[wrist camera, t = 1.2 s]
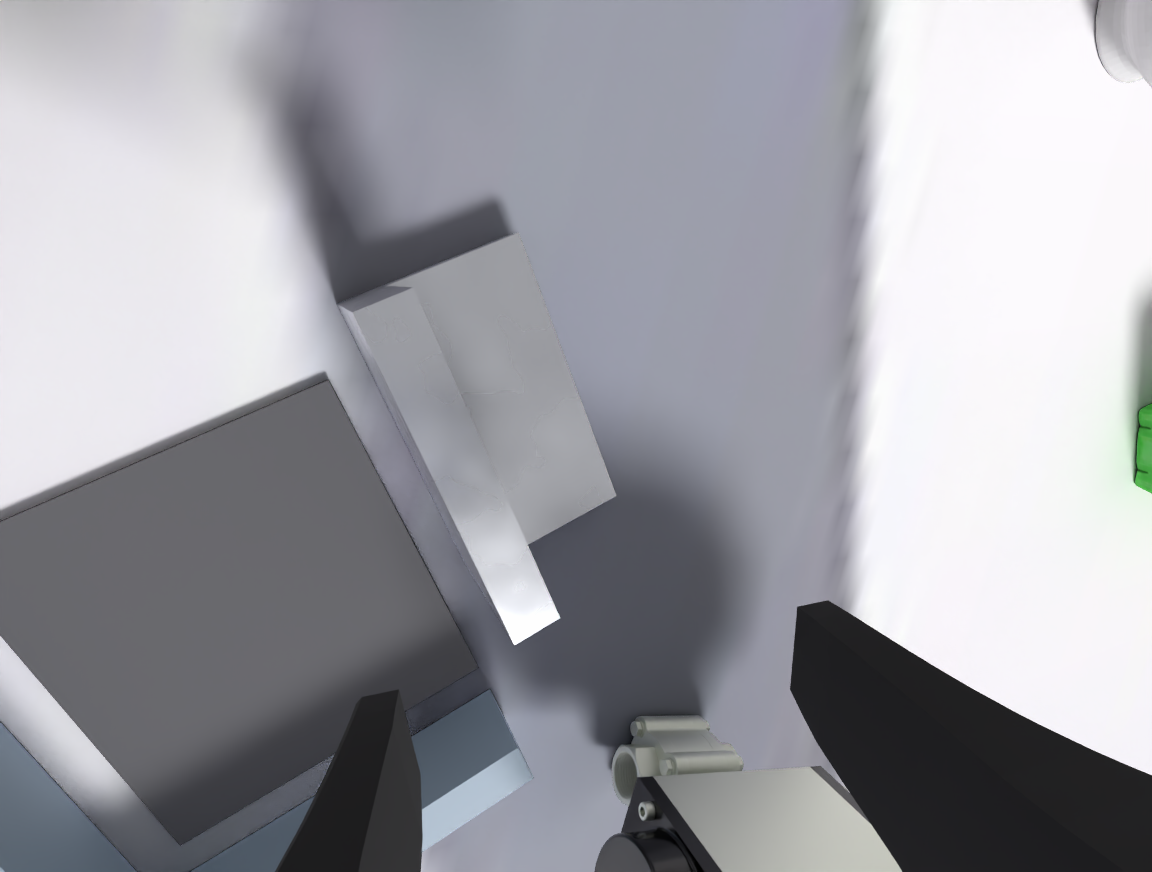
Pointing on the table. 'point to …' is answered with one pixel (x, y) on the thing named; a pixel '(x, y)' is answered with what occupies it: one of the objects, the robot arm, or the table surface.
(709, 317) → the table surface
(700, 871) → the pneumatic valve
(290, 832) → the corner walls
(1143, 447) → the fruit basket
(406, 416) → the angle bracket
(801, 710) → the robot arm
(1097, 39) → the teacup
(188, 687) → the pad
